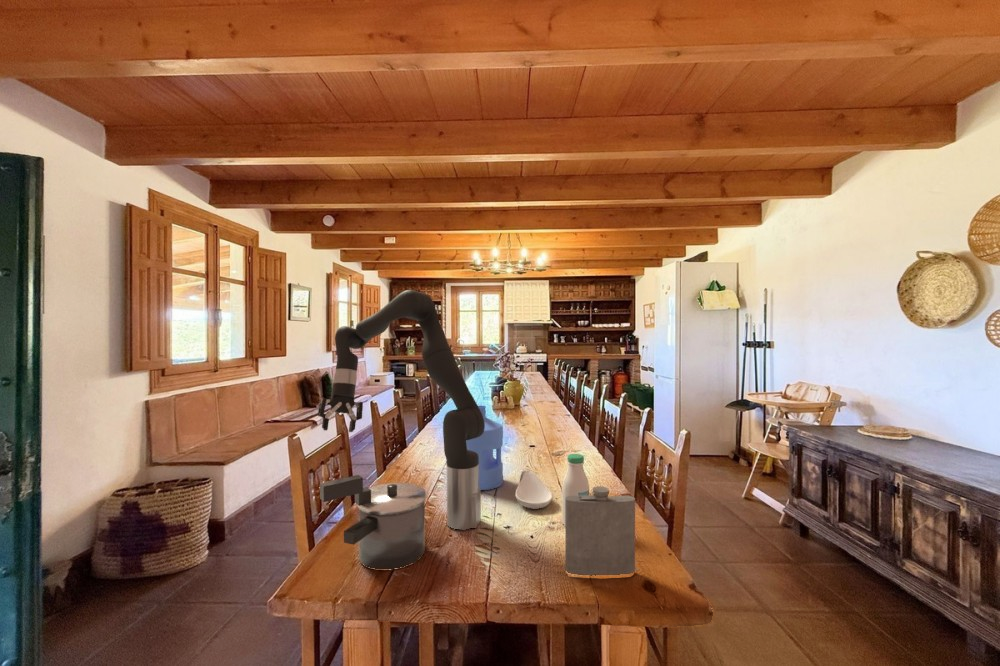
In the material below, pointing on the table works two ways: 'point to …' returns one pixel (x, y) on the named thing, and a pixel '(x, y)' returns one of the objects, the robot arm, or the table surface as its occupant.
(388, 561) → the pressure cooker pot
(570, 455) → the milk bottle
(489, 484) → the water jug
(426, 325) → the robot arm
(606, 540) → the hip flask
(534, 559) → the table surface
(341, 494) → the pressure cooker lid
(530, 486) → the spoon rest
